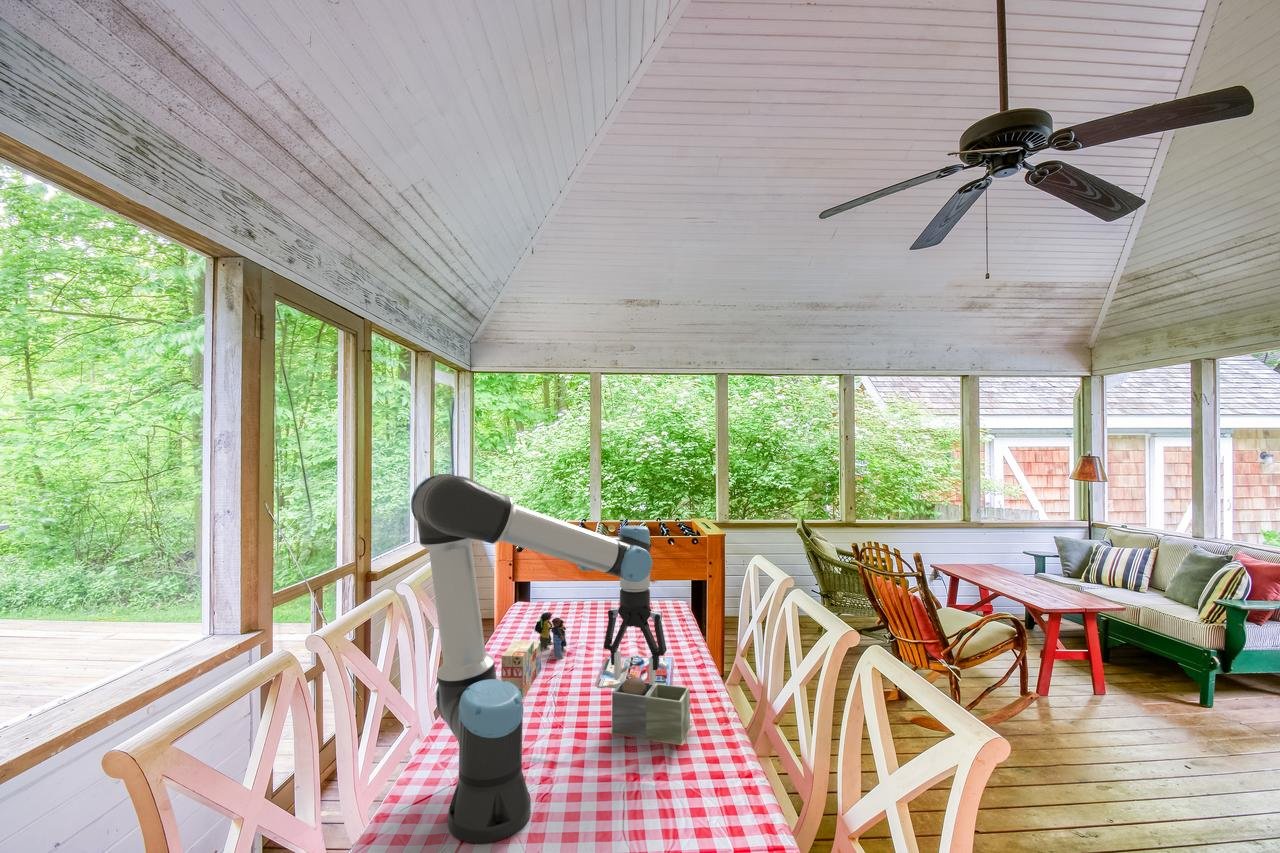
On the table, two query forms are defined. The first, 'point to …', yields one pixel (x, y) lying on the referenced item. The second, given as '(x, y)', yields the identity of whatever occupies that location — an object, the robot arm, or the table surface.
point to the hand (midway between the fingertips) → (634, 680)
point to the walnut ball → (634, 686)
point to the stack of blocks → (521, 664)
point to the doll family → (558, 634)
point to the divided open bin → (652, 713)
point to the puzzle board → (635, 671)
